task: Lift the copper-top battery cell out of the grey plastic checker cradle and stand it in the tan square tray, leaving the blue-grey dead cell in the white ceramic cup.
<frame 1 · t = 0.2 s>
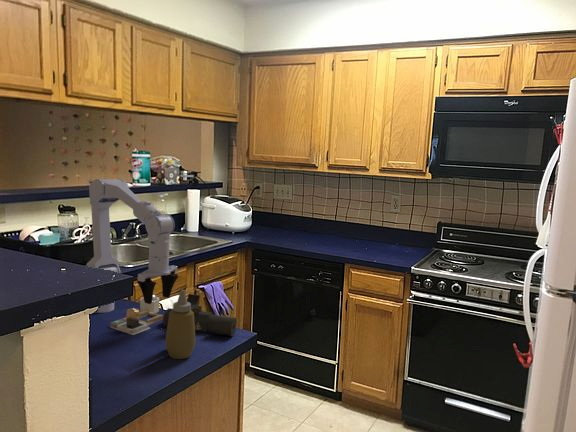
hand: (157, 299, 142), 10 cm above the counter, fingers open, 7 cm apart
cradle: (132, 331, 142), on the counter
laser sight: (198, 332, 146), on the counter
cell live: (132, 328, 142), point 1 cm above the counter, touching cradle
tan square tray: (147, 322, 150), on the counter
squeeze bottle: (179, 355, 128), on the counter
cup: (149, 313, 158), on the counter
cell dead: (149, 311, 158), point 1 cm above the counter, touching cup
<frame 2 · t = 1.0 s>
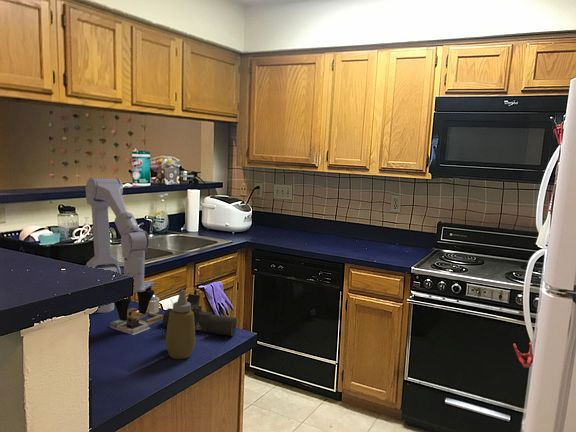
hand: (132, 316, 141), 5 cm above the counter, fingers open, 7 cm apart
nothing on the counter moved.
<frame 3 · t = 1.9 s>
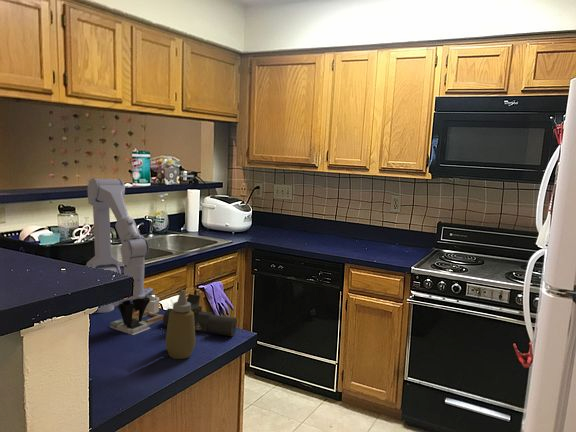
hand: (132, 323, 141), 3 cm above the counter, fingers closed on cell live, 4 cm apart
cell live: (132, 328, 142), point 1 cm above the counter, touching cradle, gripper
everything else where it was.
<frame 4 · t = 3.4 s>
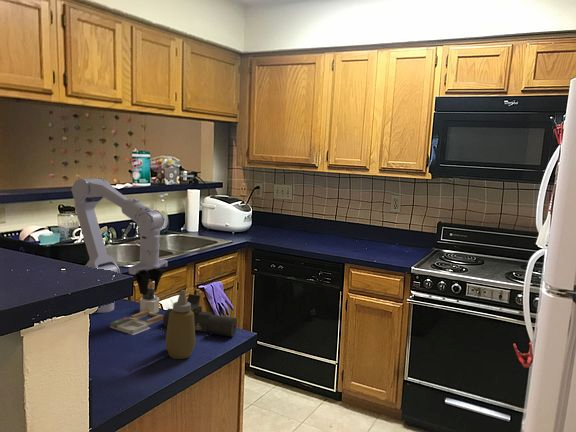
hand: (148, 292, 148), 10 cm above the counter, fingers closed on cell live, 4 cm apart
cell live: (148, 297, 149), point 8 cm above the counter, touching gripper
everything else where it was.
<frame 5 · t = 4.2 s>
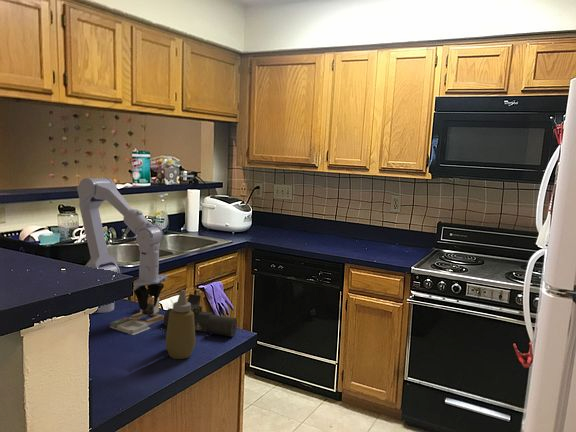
hand: (147, 307, 149), 5 cm above the counter, fingers closed on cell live, 4 cm apart
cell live: (147, 312, 149), point 3 cm above the counter, touching gripper
everything else where it was.
when the fingers open (4 cm above the counter, at t = 4.8 s): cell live drops 1 cm, resting on tan square tray.
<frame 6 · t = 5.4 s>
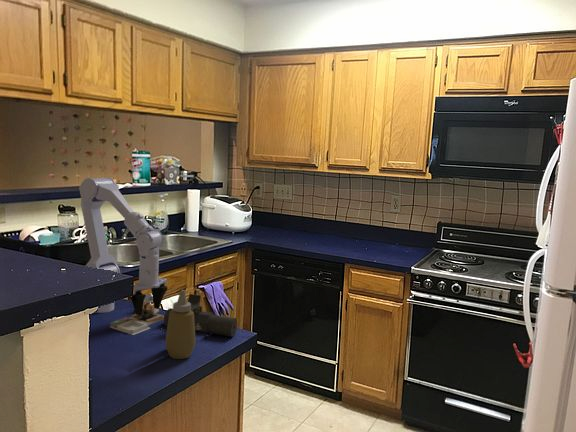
hand: (147, 311, 149), 4 cm above the counter, fingers open, 7 cm apart
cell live: (147, 320, 149), point 1 cm above the counter, touching tan square tray
everything else where it was.
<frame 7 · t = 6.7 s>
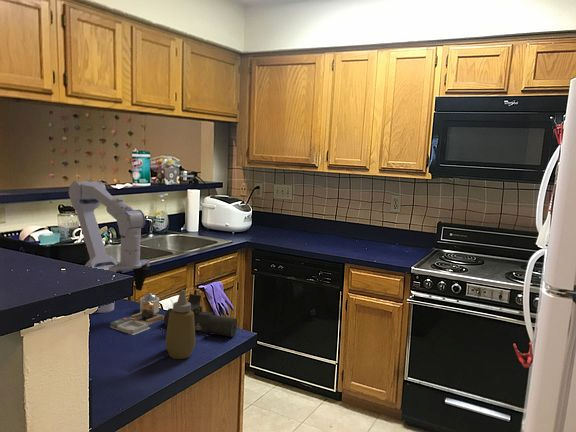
hand: (129, 292, 147), 10 cm above the counter, fingers open, 7 cm apart
nothing on the counter moved.
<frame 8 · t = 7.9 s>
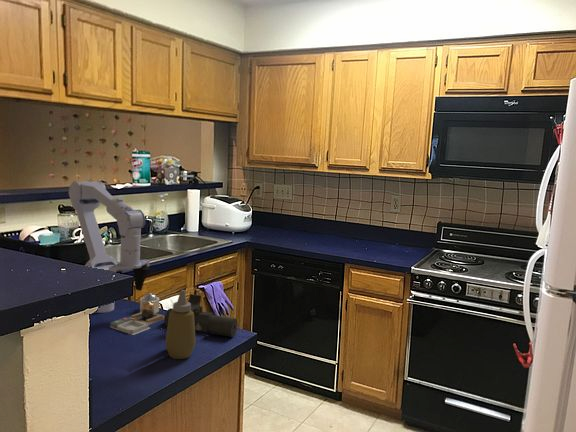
hand: (129, 292, 147), 10 cm above the counter, fingers open, 7 cm apart
nothing on the counter moved.
at the end: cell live 0.2 cm off-centre on the tan square tray, point 0.8 cm above the tan square tray's base; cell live tilted 0°; the gripper is holding nothing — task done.
